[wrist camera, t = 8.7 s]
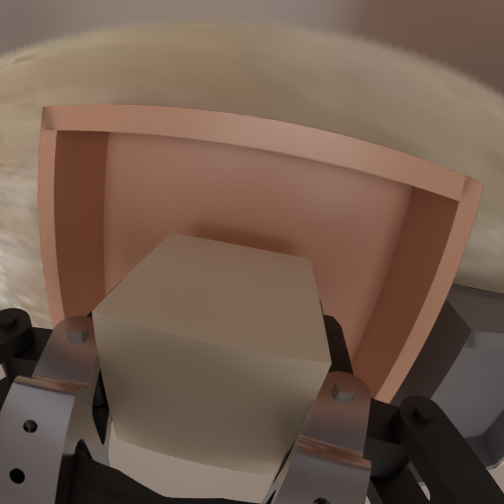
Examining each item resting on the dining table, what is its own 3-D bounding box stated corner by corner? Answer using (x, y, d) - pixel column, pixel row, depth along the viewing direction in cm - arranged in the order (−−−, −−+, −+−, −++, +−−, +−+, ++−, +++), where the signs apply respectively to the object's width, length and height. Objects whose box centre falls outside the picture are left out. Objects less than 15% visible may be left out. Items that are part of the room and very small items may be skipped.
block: (310, 259, 9) (331, 363, 5) (280, 365, 11) (275, 475, 7) (171, 232, 10) (91, 311, 5) (166, 341, 11) (117, 438, 7)
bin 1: (424, 166, 11) (484, 183, 7) (347, 382, 16) (359, 445, 11) (108, 110, 12) (43, 106, 7) (106, 333, 16) (67, 383, 12)
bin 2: (560, 306, 13) (594, 338, 9) (479, 431, 18) (495, 467, 13) (428, 278, 13) (471, 330, 9) (342, 441, 18) (348, 493, 14)
